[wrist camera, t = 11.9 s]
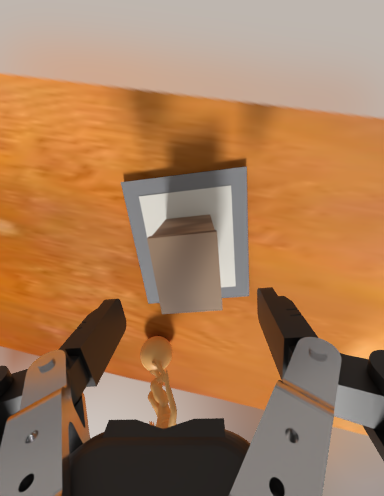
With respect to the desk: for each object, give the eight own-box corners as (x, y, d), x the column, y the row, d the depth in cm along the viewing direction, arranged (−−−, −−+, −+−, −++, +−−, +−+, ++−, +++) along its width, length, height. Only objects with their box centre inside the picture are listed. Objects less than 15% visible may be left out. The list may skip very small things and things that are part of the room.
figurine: (149, 313, 25) (108, 426, 14) (195, 323, 25) (191, 441, 14) (141, 359, 28) (101, 484, 16) (182, 367, 28) (170, 496, 17)
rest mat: (244, 166, 18) (246, 166, 18) (247, 292, 23) (249, 296, 22) (123, 182, 19) (120, 182, 19) (150, 299, 24) (148, 304, 23)
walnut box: (211, 213, 19) (217, 231, 13) (215, 269, 21) (222, 310, 15) (164, 218, 20) (146, 238, 13) (173, 272, 22) (162, 314, 15)
